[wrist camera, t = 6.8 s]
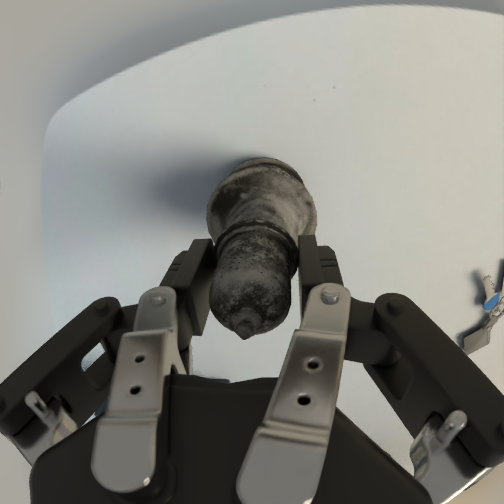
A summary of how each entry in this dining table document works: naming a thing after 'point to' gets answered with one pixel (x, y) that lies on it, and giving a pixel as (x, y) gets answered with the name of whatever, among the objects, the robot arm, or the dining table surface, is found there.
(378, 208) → the dining table surface
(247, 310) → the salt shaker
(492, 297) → the key chain
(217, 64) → the dining table surface
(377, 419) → the dining table surface
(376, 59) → the dining table surface
